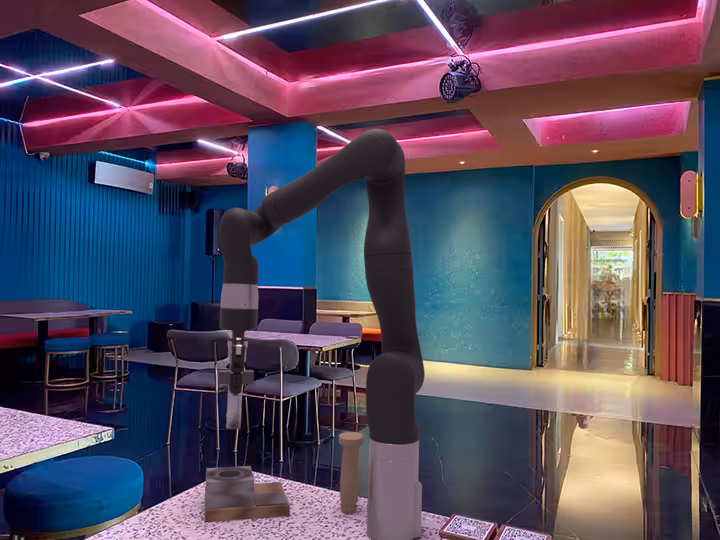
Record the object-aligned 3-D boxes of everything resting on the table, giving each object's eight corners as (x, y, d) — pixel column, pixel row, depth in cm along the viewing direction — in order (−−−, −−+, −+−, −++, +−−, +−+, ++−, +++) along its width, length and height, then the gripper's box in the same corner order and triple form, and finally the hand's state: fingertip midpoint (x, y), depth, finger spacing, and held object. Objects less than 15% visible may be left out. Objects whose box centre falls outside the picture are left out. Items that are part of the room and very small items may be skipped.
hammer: (250, 425, 114) (253, 370, 115) (251, 429, 111) (254, 372, 112) (215, 426, 112) (218, 369, 113) (215, 429, 109) (218, 371, 110)
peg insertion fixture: (280, 491, 121) (281, 459, 122) (289, 515, 108) (290, 479, 108) (204, 496, 117) (206, 462, 118) (204, 522, 104) (206, 484, 104)
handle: (362, 506, 114) (364, 432, 115) (358, 518, 108) (360, 440, 109) (339, 504, 115) (342, 431, 116) (334, 516, 108) (336, 438, 109)
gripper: (260, 308, 107) (256, 397, 106) (255, 306, 121) (251, 385, 120) (220, 306, 105) (216, 397, 104) (220, 305, 119) (216, 385, 118)
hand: (235, 390), depth 112 cm, fingers closed on hammer, 3 cm apart
